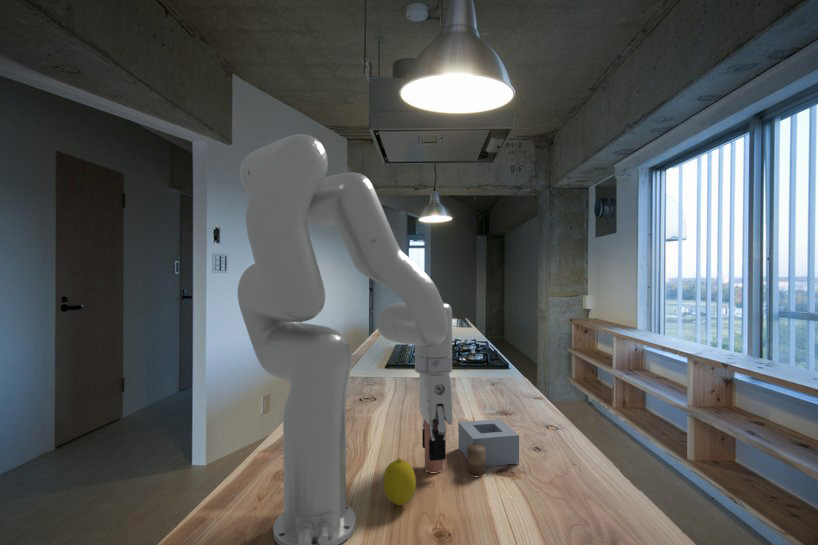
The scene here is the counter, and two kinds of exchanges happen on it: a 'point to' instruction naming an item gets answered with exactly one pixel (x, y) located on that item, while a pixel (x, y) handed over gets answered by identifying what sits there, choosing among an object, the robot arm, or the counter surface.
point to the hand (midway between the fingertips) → (433, 452)
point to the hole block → (490, 440)
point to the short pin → (476, 460)
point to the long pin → (429, 465)
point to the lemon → (399, 482)
